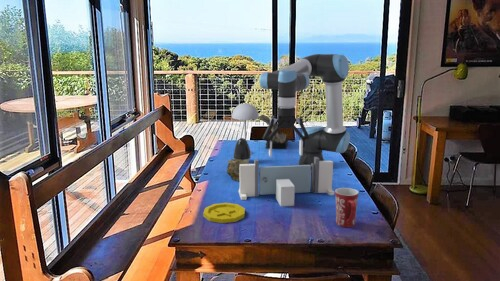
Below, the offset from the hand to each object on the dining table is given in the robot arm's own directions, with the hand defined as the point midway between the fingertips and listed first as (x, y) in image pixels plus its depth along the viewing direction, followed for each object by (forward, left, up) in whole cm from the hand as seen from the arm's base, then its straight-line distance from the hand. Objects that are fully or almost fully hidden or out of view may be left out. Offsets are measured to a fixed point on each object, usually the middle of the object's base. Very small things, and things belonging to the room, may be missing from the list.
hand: (285, 155), depth 181 cm
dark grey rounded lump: (+11, -64, -22) cm, 68 cm away
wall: (-3, -10, -22) cm, 24 cm away
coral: (-16, -105, -22) cm, 108 cm away
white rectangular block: (0, 0, -22) cm, 22 cm away
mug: (-18, +28, -22) cm, 40 cm away
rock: (+16, -39, -22) cm, 48 cm away
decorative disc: (+28, +10, -22) cm, 37 cm away
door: (-3, -9, -21) cm, 24 cm away
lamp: (+6, -86, -22) cm, 89 cm away
